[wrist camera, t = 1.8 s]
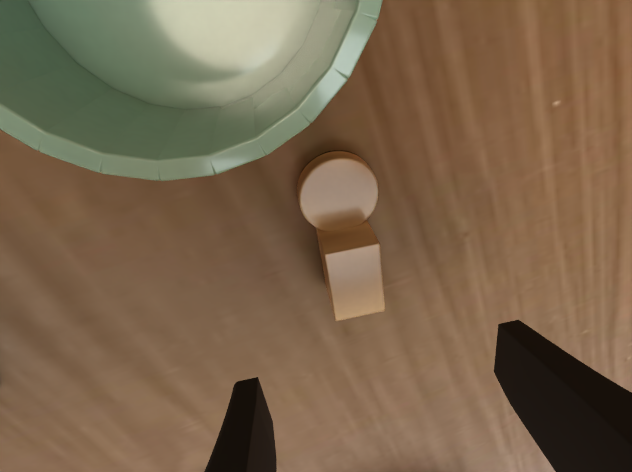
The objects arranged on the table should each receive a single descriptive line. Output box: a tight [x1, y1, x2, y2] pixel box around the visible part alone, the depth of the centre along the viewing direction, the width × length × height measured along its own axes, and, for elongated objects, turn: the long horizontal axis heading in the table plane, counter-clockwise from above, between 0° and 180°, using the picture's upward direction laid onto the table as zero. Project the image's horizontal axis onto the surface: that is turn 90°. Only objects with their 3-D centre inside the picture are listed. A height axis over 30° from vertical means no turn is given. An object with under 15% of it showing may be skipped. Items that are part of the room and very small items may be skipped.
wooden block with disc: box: [297, 151, 385, 321], centre depth 19 cm, size 7×4×3 cm, turn 8°
